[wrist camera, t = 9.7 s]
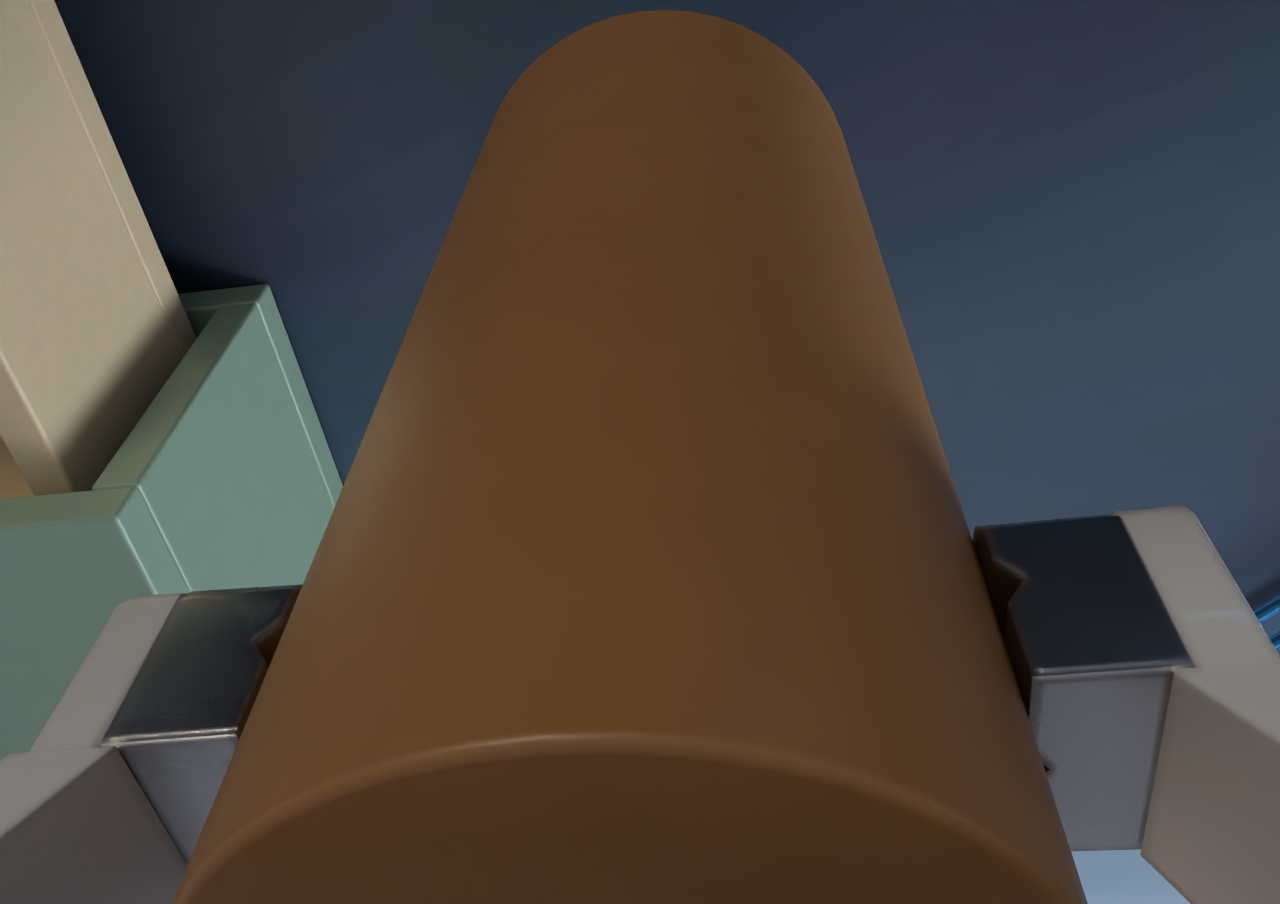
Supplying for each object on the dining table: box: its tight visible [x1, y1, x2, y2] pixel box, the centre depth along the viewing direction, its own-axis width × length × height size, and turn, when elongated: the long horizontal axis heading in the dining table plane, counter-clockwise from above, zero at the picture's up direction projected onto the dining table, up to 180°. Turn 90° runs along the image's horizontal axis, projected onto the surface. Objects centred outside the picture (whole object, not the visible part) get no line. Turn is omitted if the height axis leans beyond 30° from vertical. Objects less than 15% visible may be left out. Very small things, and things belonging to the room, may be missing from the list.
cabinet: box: [0, 284, 343, 760], centre depth 27 cm, size 16×15×8 cm
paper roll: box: [172, 10, 1087, 904], centre depth 11 cm, size 5×5×12 cm
